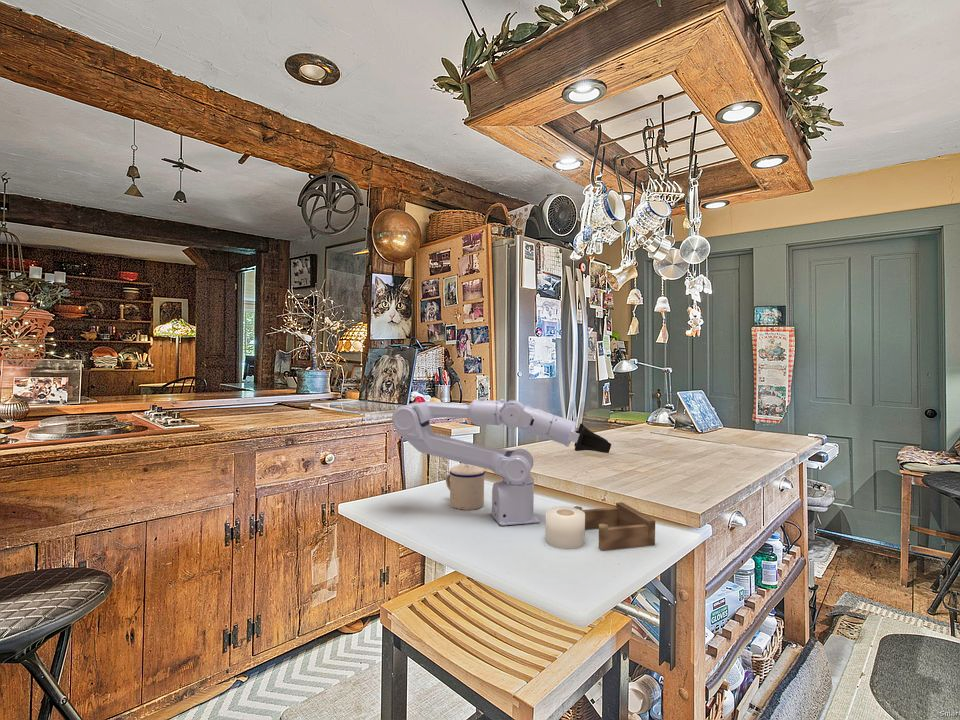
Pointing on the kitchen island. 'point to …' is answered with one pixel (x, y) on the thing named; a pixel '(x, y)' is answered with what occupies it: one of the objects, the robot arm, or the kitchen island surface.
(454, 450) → the robot arm
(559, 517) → the roll
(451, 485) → the teacup with lid
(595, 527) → the holder
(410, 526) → the kitchen island surface
